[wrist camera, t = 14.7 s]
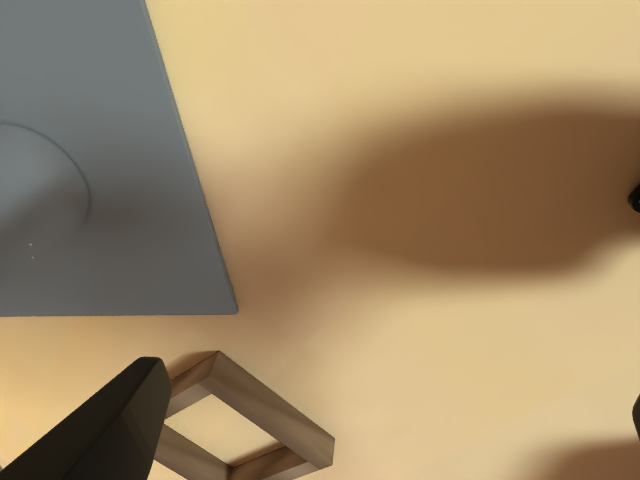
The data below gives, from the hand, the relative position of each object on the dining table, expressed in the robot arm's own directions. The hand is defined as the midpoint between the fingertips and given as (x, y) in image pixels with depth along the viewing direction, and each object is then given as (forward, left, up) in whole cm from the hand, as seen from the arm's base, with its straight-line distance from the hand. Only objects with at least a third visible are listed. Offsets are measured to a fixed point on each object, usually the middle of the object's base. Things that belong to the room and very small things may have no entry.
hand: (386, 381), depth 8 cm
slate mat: (+15, +10, -13) cm, 22 cm away
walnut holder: (0, +25, -13) cm, 28 cm away
